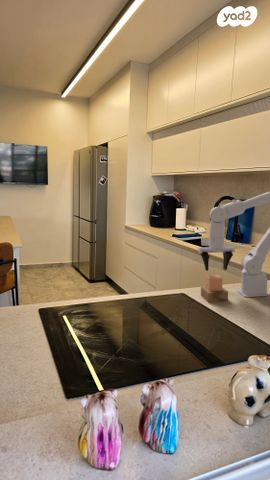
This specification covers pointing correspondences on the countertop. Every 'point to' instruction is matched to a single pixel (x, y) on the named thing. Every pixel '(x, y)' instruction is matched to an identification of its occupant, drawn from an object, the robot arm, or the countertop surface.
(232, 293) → the countertop surface
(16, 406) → the countertop surface
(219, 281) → the terracotta cube
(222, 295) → the walnut block
